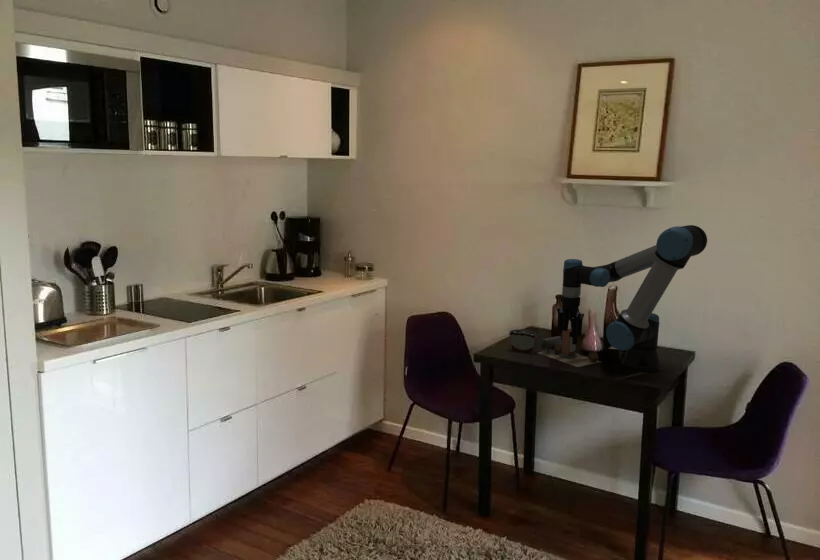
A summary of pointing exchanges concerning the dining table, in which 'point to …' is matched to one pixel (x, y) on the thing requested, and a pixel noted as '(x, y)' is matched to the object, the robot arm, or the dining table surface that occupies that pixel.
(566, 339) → the reddish brown block
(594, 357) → the nut
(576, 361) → the board
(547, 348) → the anvil
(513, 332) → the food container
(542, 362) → the dining table surface
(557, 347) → the nut
